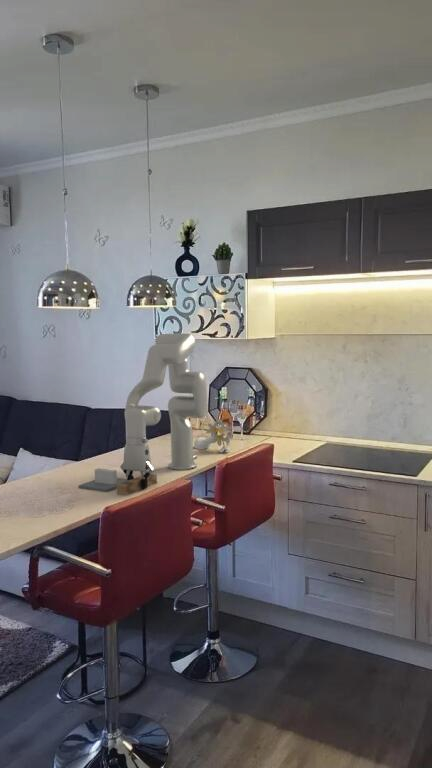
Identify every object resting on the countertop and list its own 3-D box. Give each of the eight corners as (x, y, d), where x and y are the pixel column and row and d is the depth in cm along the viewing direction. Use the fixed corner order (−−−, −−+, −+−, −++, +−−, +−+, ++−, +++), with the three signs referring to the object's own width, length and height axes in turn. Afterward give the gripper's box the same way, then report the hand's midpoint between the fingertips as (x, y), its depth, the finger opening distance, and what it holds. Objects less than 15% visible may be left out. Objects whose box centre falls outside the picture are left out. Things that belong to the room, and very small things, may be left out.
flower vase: (198, 469, 301) (225, 451, 283) (182, 436, 305) (208, 417, 287) (217, 461, 310) (244, 443, 292) (201, 430, 313) (227, 410, 295)
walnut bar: (148, 482, 236) (148, 473, 236) (156, 483, 234) (156, 474, 234) (117, 495, 219) (116, 484, 219) (125, 496, 217) (125, 485, 217)
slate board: (105, 478, 243) (104, 464, 242) (132, 482, 236) (132, 467, 236) (78, 487, 229) (77, 472, 229) (107, 492, 222) (106, 476, 222)
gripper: (160, 441, 224) (161, 487, 226) (124, 437, 232) (125, 483, 234) (148, 444, 218) (150, 492, 219) (111, 441, 226) (113, 487, 227)
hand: (137, 487), depth 227 cm, fingers open, 5 cm apart
